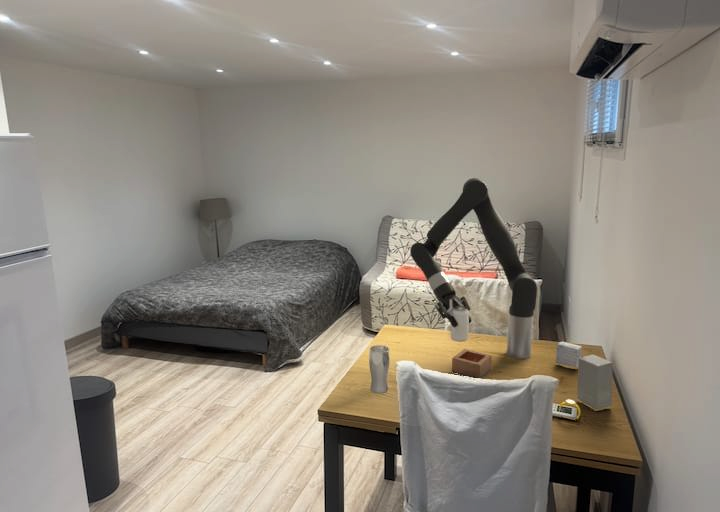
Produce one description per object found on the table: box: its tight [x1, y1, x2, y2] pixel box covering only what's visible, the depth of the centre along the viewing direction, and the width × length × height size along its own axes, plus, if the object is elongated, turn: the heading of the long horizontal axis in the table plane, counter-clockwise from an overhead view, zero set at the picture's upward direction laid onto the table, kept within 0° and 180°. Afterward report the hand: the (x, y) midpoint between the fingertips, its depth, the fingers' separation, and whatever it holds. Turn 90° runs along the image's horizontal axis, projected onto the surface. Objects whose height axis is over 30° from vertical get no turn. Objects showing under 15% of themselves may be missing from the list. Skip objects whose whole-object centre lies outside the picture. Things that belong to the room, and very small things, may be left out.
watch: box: [558, 398, 581, 420], centre depth 153 cm, size 6×3×6 cm, turn 62°
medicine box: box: [555, 341, 583, 367], centre depth 190 cm, size 8×4×9 cm, turn 47°
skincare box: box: [577, 354, 614, 409], centre depth 160 cm, size 8×7×16 cm
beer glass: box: [368, 344, 391, 395], centre depth 171 cm, size 7×7×15 cm
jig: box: [451, 348, 493, 379], centre depth 186 cm, size 11×11×6 cm
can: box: [450, 306, 470, 343], centre depth 186 cm, size 6×6×12 cm
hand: (463, 324), depth 185 cm, fingers closed on can, 6 cm apart
